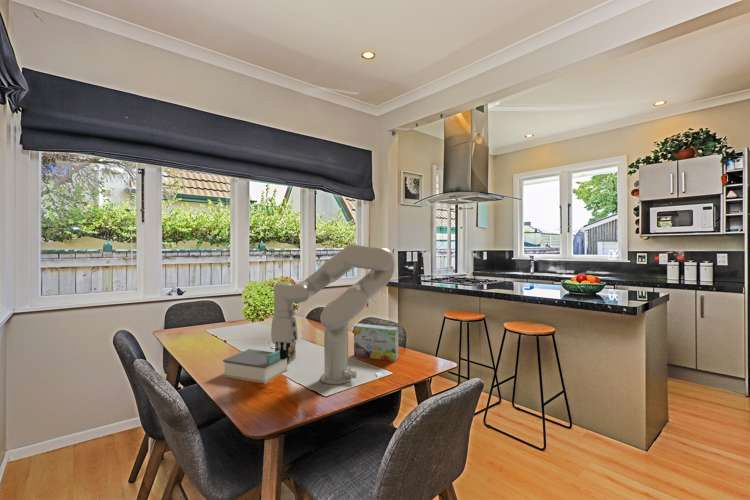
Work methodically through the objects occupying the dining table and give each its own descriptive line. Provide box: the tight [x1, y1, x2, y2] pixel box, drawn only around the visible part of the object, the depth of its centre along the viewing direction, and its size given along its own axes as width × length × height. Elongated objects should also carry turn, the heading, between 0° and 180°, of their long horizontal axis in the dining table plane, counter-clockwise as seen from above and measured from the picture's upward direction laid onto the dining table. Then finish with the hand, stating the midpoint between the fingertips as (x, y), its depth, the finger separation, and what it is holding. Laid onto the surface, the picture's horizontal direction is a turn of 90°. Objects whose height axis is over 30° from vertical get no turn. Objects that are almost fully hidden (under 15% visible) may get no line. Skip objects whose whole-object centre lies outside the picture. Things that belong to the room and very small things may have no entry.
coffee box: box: [274, 344, 297, 365], centre depth 174 cm, size 9×6×16 cm
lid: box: [222, 348, 282, 368], centre depth 158 cm, size 21×16×4 cm
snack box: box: [353, 323, 399, 362], centre depth 179 cm, size 21×6×15 cm, turn 68°
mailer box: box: [224, 358, 288, 384], centre depth 159 cm, size 20×15×6 cm
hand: (284, 358), depth 153 cm, fingers closed
